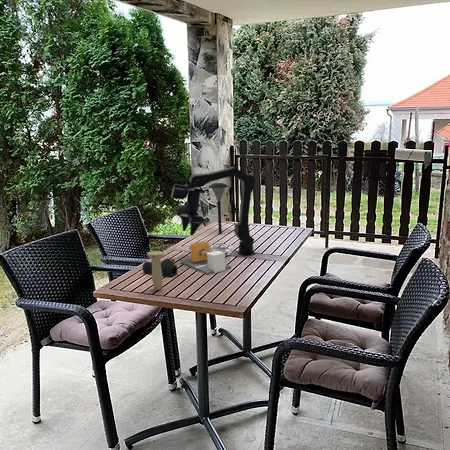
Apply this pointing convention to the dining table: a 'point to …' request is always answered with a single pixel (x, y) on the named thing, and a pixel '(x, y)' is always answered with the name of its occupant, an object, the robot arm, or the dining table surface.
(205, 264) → the mat
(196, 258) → the collar
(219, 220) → the solar garden light
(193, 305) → the dining table surface
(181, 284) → the dining table surface
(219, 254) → the block
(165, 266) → the pipe connector
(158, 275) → the handle
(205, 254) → the pipe
